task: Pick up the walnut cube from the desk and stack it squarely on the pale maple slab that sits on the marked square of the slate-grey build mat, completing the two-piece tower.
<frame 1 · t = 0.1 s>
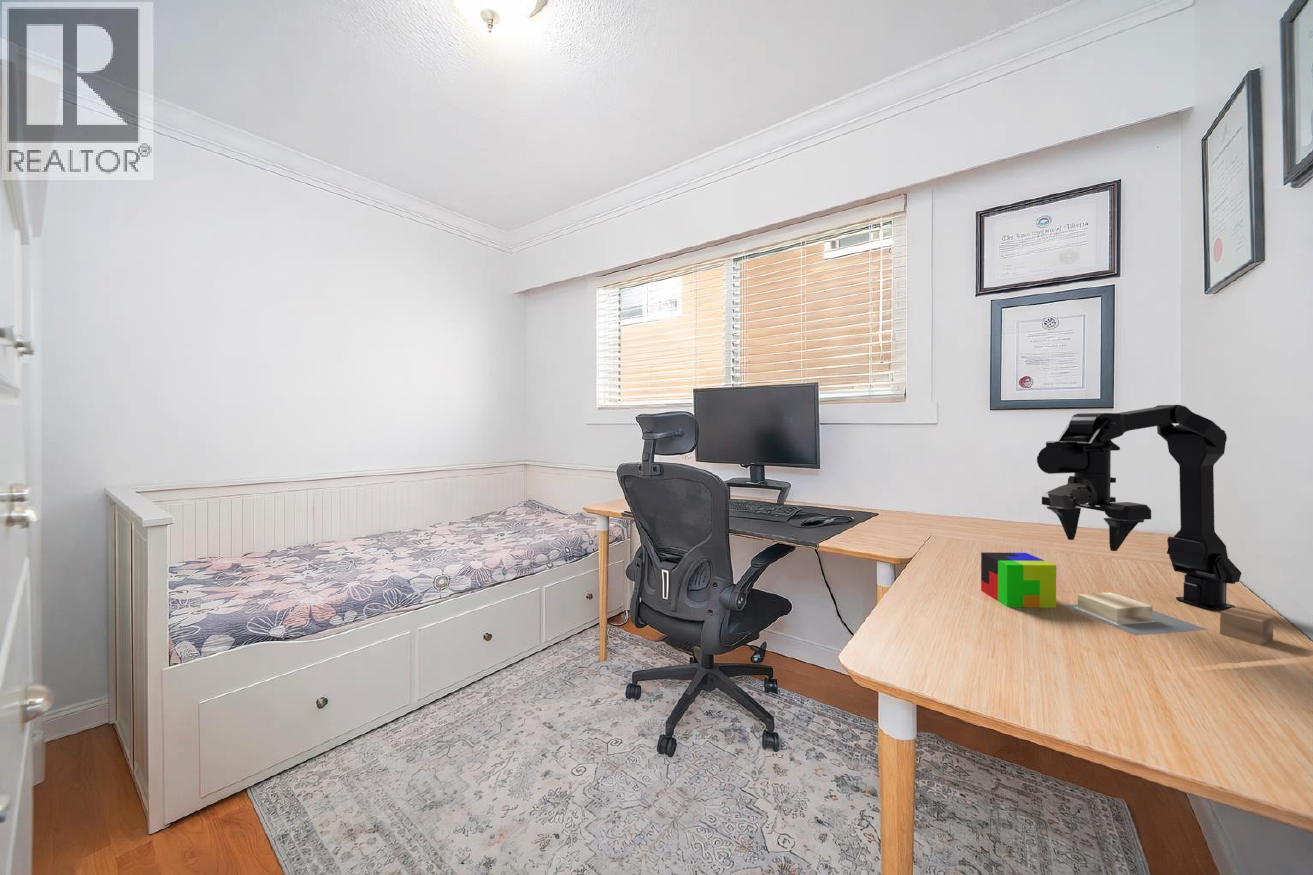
hand: (1091, 545, 103), 15 cm above the table, fingers open, 9 cm apart
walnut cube: (1245, 640, 90), on the table
maple slab: (1113, 614, 101), point 1 cm above the table, touching build mat
build mat: (1130, 619, 100), on the table
puzzle toy: (1016, 602, 111), on the table
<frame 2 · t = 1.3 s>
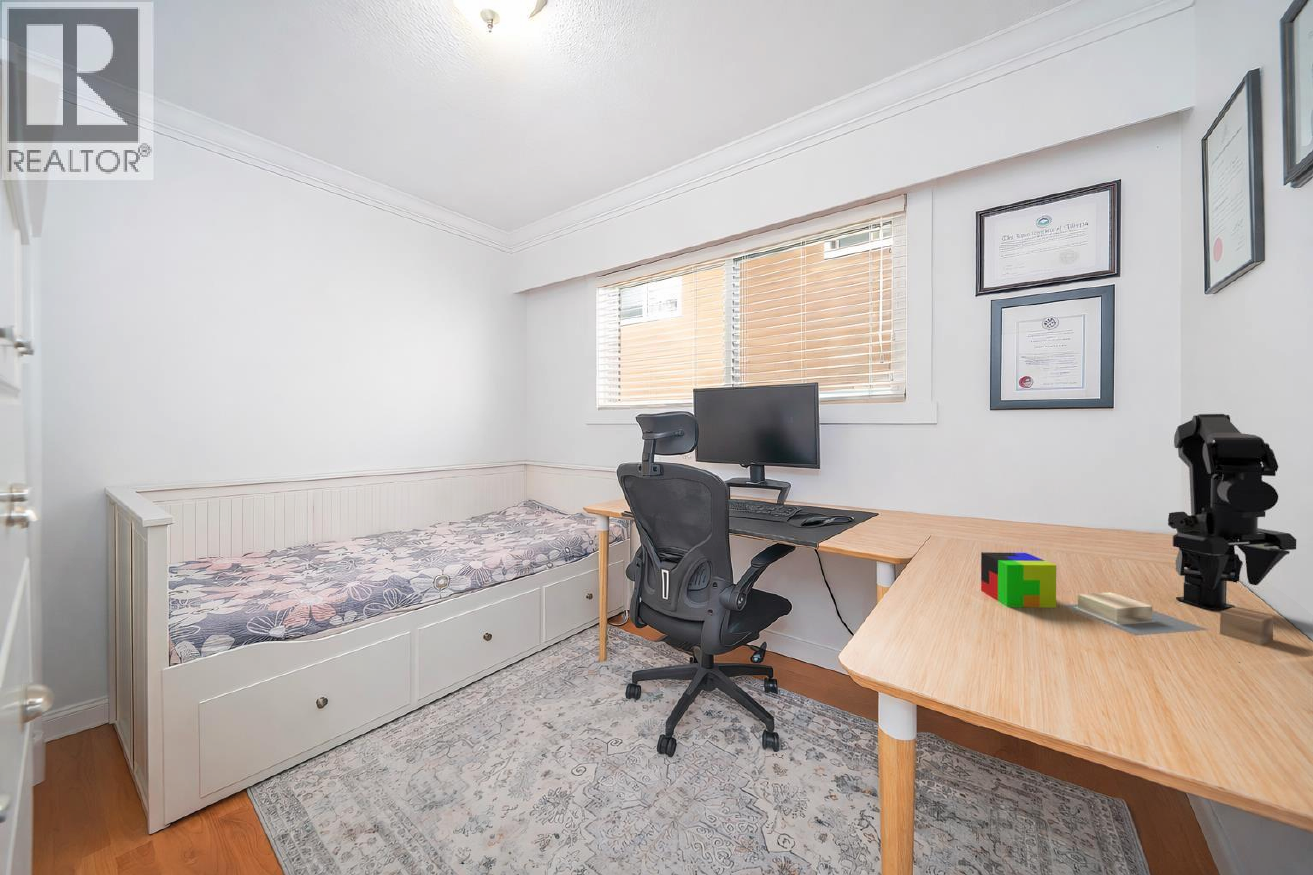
hand: (1231, 585, 91), 10 cm above the table, fingers open, 9 cm apart
nothing on the table moved.
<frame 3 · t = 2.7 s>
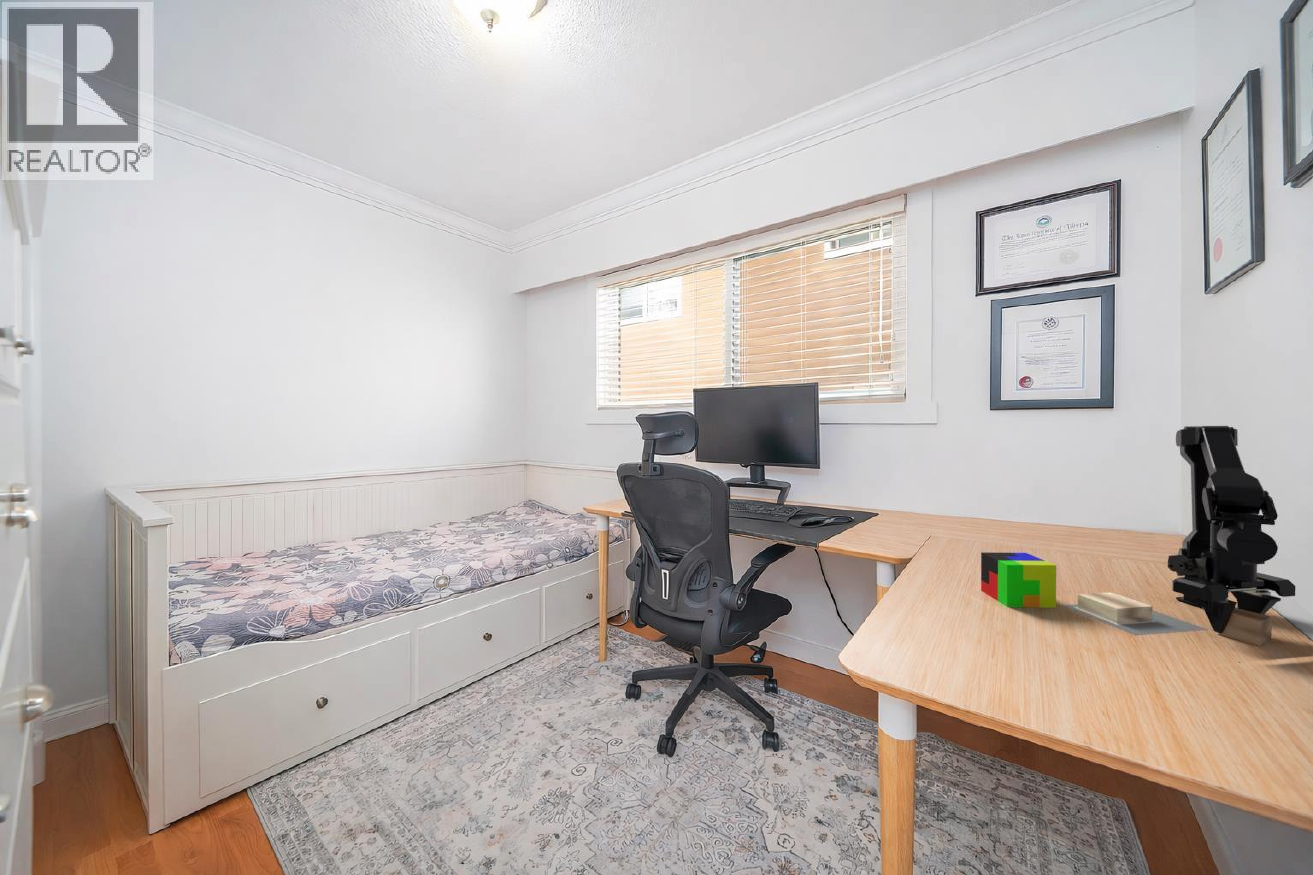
hand: (1231, 631, 91), 1 cm above the table, fingers closed on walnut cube, 5 cm apart
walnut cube: (1244, 640, 90), on the table, touching gripper
everything else where it was.
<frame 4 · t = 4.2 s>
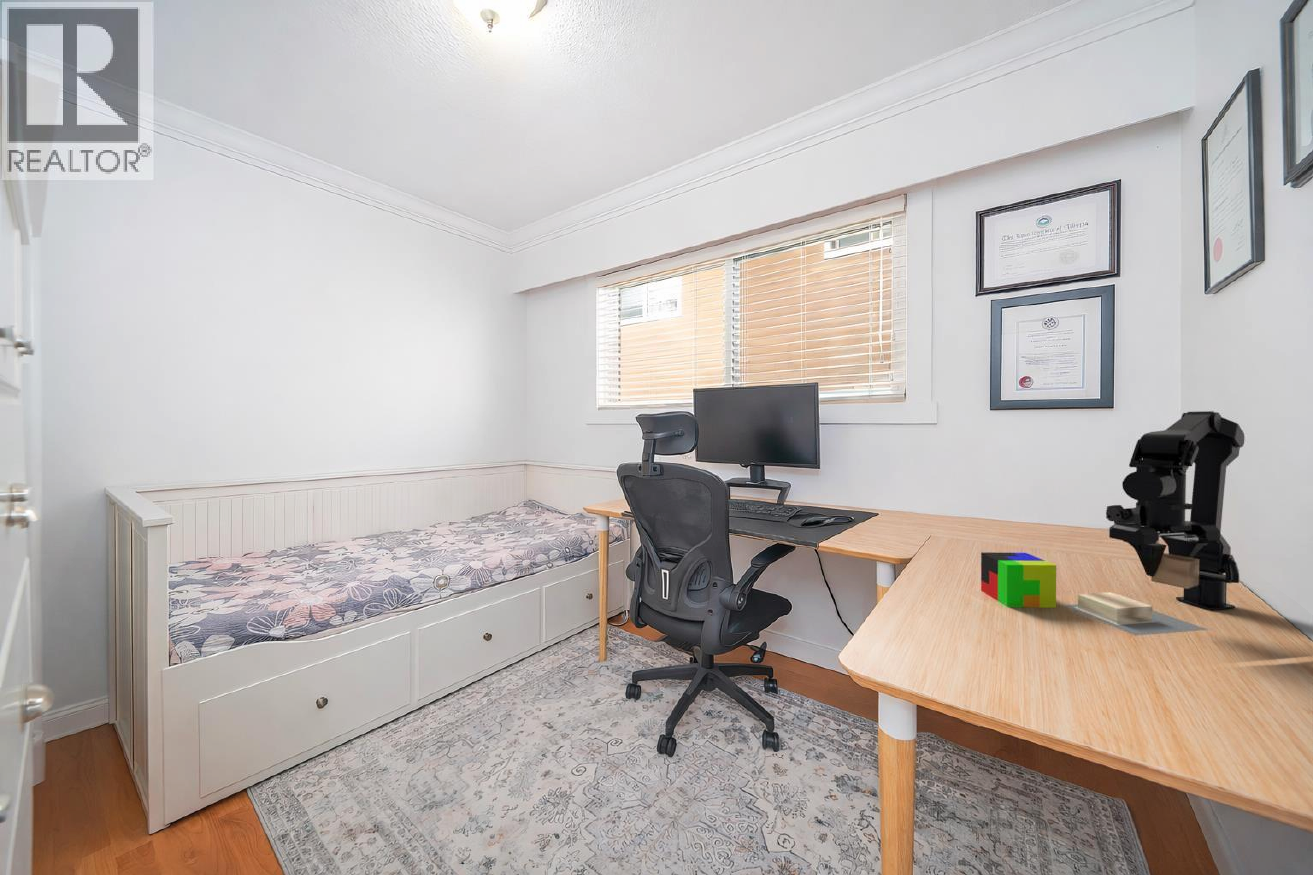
hand: (1162, 575, 96), 10 cm above the table, fingers closed on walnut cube, 5 cm apart
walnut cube: (1174, 582, 95), point 9 cm above the table, touching gripper
everything else where it was.
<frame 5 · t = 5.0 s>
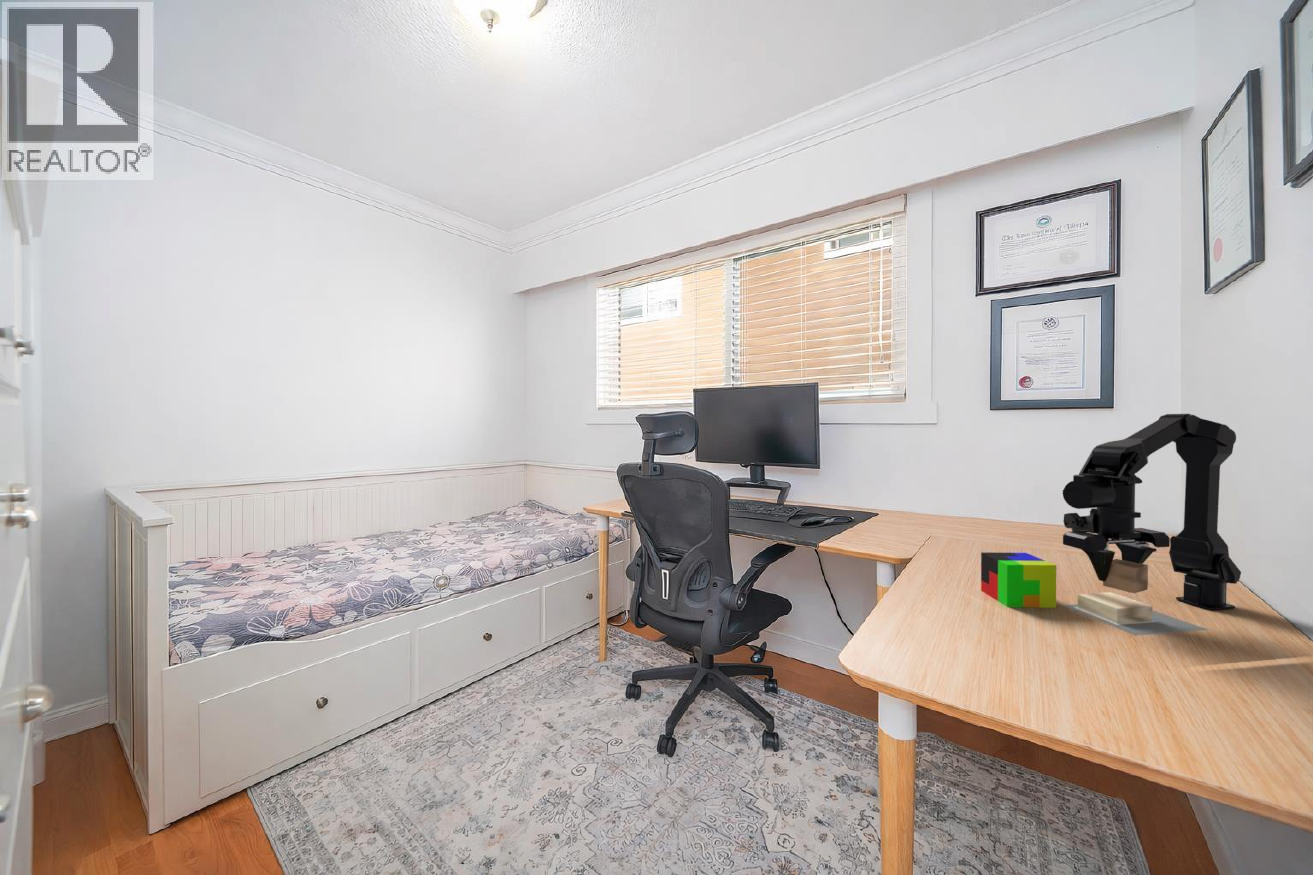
hand: (1114, 580, 101), 8 cm above the table, fingers closed on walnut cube, 5 cm apart
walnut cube: (1125, 587, 99), point 7 cm above the table, touching gripper
everything else where it was.
when the fingers open (6 cm above the table, at t = 5.7 s): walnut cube drops 1 cm, resting on maple slab.
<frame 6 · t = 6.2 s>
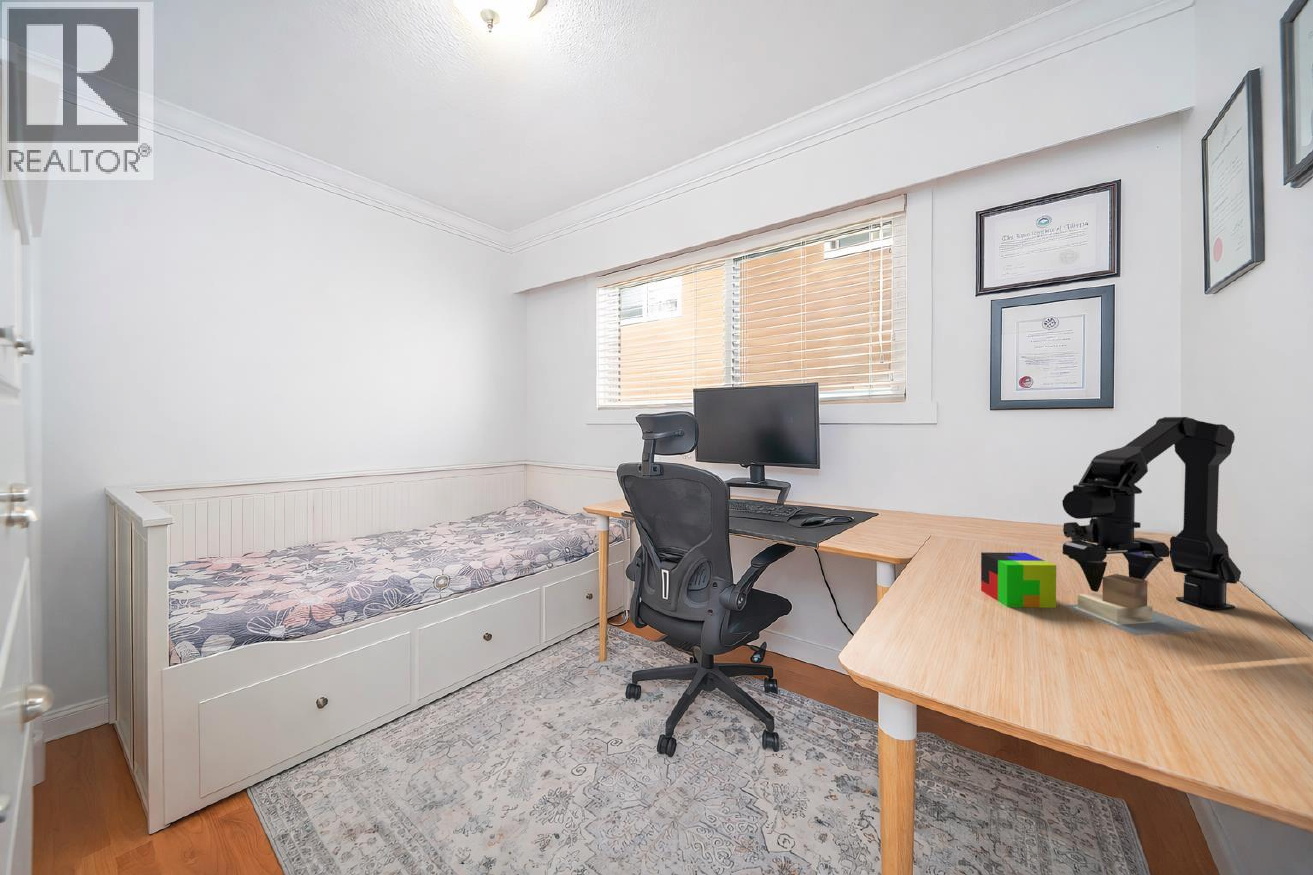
hand: (1114, 589, 101), 6 cm above the table, fingers open, 9 cm apart
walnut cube: (1124, 602, 99), point 4 cm above the table, touching maple slab
maple slab: (1113, 614, 101), point 1 cm above the table, touching build mat, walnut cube
everything else where it was.
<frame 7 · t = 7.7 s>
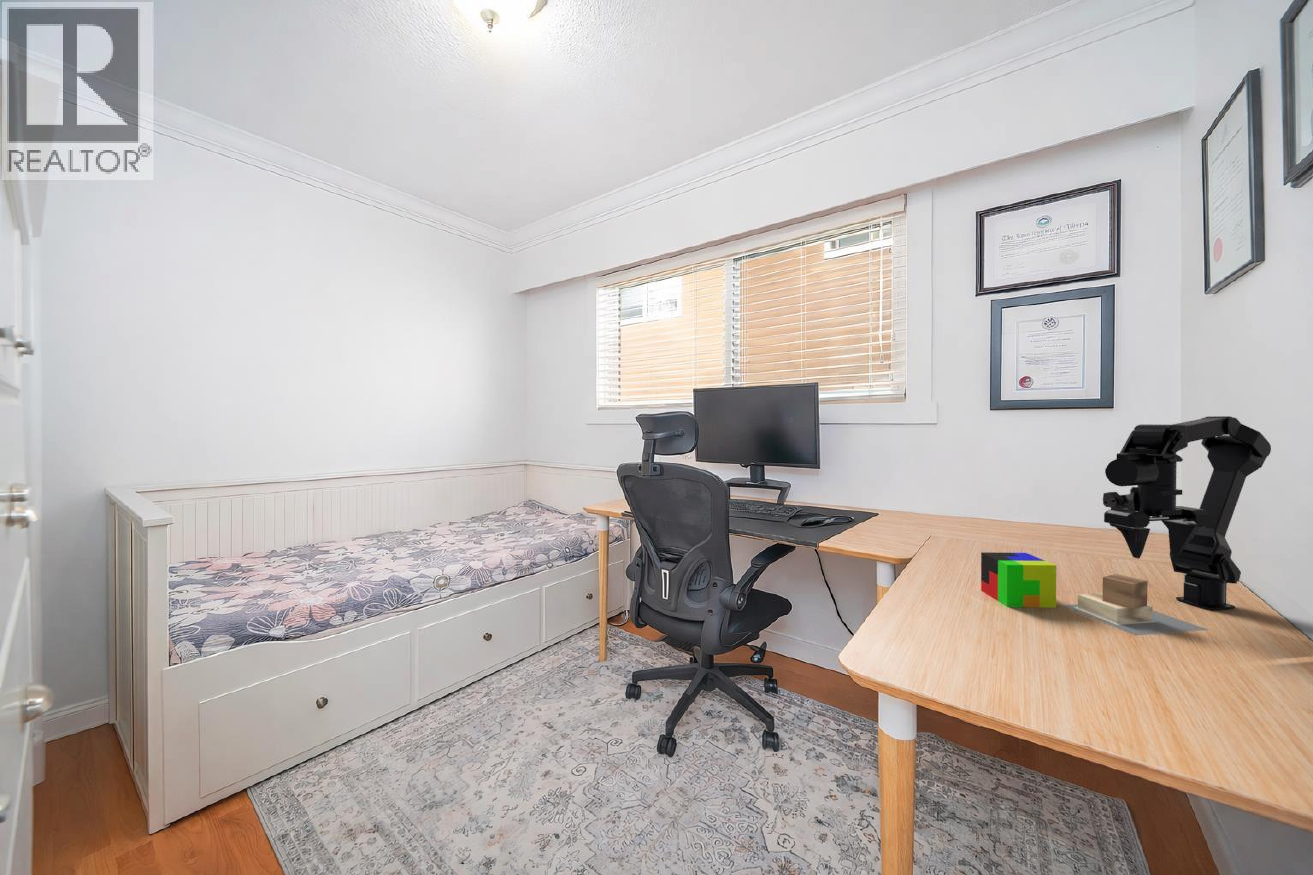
hand: (1155, 556, 103), 12 cm above the table, fingers open, 9 cm apart
nothing on the table moved.
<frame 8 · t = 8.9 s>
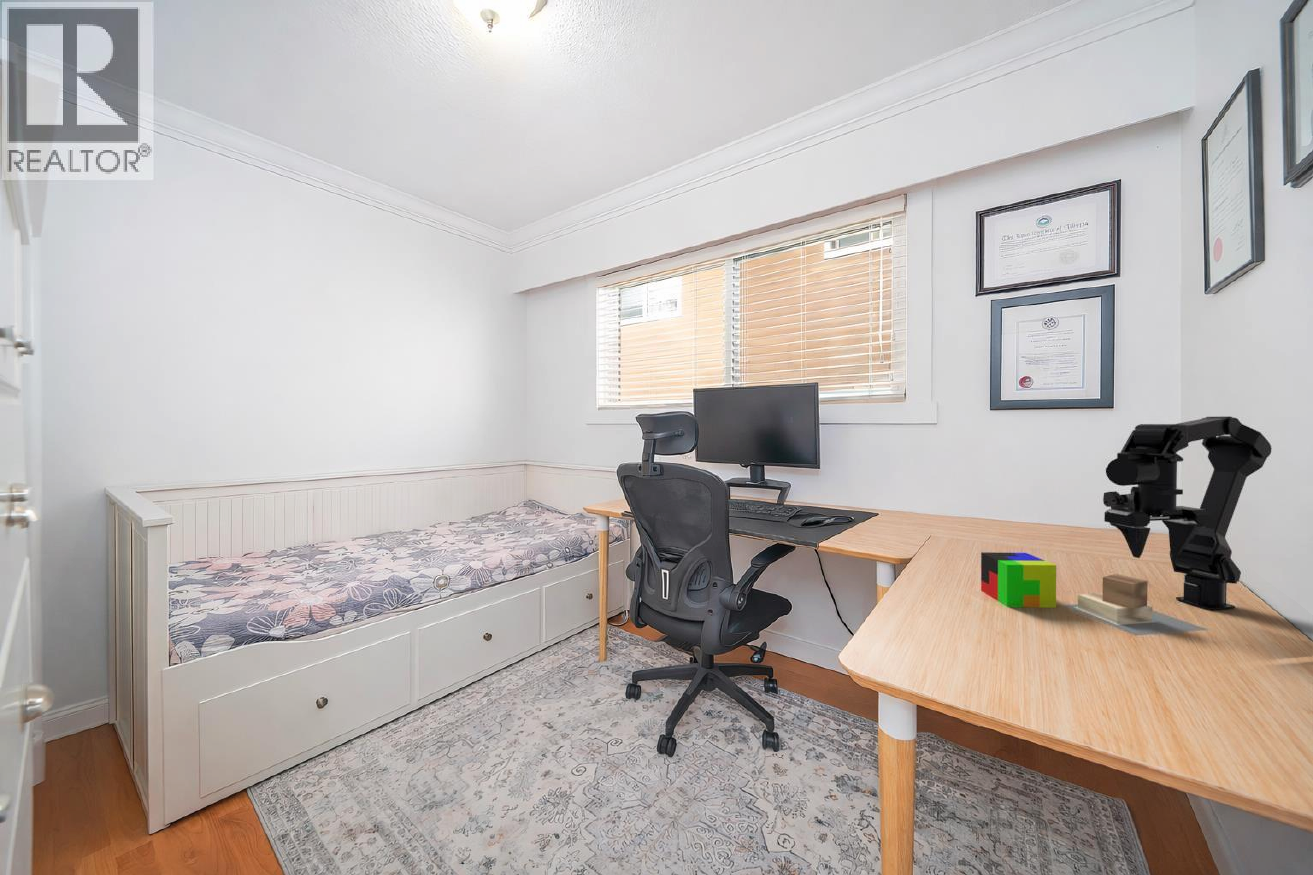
hand: (1155, 556, 103), 12 cm above the table, fingers open, 9 cm apart
nothing on the table moved.
at the end: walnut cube 1.8 cm off-centre on the maple slab, point 3.0 cm above the maple slab's base; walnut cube tilted 0°; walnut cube touching maple slab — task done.
